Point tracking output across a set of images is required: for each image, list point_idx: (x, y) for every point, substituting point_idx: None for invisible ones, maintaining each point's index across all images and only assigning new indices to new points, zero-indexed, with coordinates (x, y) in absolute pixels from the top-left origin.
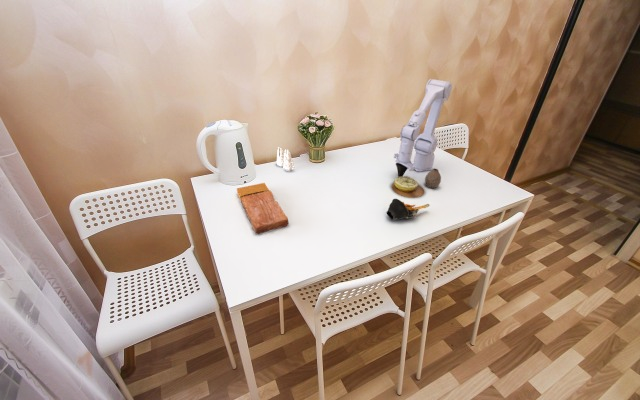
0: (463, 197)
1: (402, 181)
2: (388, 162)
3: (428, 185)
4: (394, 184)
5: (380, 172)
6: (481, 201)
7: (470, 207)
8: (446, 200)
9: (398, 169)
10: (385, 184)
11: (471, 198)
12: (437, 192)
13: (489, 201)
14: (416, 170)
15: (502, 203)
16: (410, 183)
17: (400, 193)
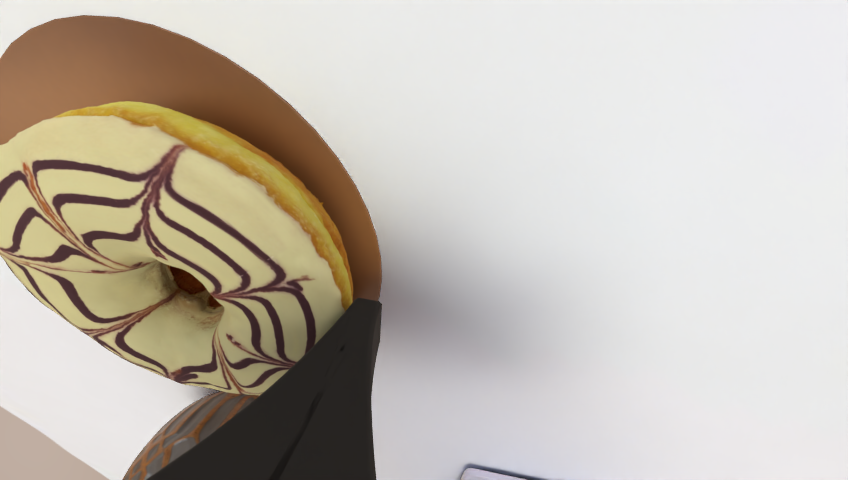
0: (124, 430)
1: (141, 252)
2: (811, 437)
3: (202, 401)
4: (313, 169)
5: (746, 209)
6: (102, 449)
7: (21, 395)
8: (61, 360)
9: (290, 443)
10: (349, 12)
11: (121, 443)
12: (162, 383)
13: (110, 463)
14: (479, 474)
15: (105, 475)
16: (54, 301)
17: (63, 86)
